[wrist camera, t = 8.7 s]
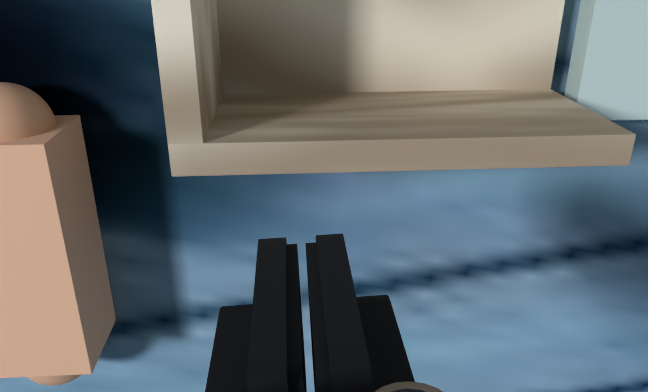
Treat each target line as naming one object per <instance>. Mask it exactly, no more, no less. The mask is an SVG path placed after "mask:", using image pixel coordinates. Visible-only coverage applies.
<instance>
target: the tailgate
mask: <svg viewBox="0 0 648 392" xmlns="http://www.w3.org/2000/svg"><path fill="white" fill-rule="evenodd" d="M564 96H565V97H567V98H568V99H570V100H572V101H574V102H576V103H578V104H580V105H582V106H584V107H585V108H587V109H589V110H591V111H593V112H595V113H597V114H599V115H601V116H602V117H604V118H606V119H608V120H648V0H581V2H580V8H579V14H578V20H577V25H576V31H575V37H574V43H573V49H572V54H571V60H570V66H569V72H568V77H567V83H566V89H565V95H564Z"/></svg>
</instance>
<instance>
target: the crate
mask: <svg viewBox="0 0 648 392" xmlns="http://www.w3.org/2000/svg"><path fill="white" fill-rule="evenodd" d="M151 4H152V13H153V21H154V30H155V38H156V47H157V55H158V64H159V72H160V81H161V89H162V98H163V106H164V115H165V124H166V132H167V141H168V149H169V158H170V166H171V175H172V176H211V175H252V174H293V173H333V172H374V171H415V170H456V169H497V168H538V167H579V166H620V165H629V163H630V159H631V155H632V150H633V146H634V142H635V138H636V134H635V133H633V132H631V131H629V130H627V129H625V128H623V127H621V126H619V125H618V124H616V123H614V122H612V121H610V120H608V119H606V118H604V117H602V116H601V115H599V114H597V113H595V112H593V111H591V110H589V109H587V108H585V107H584V106H582V105H580V104H578V103H576V102H574V101H572V100H570V99H568V98H567V97H565V96H563V95H561V94H559V93H557V92H555V91H553V90H551V84H552V78H553V72H554V66H555V59H556V53H557V47H558V41H559V35H560V29H561V22H562V16H563V10H564V4H565V0H151Z"/></svg>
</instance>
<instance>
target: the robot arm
mask: <svg viewBox="0 0 648 392" xmlns="http://www.w3.org/2000/svg"><path fill="white" fill-rule="evenodd" d="M306 258H307V274H308V291H309V307H310V324H311V340H312V356H313V371H314V386H315V392H442V391H441V390H439V389H437V388H435V387H432V386H430V385H427V384H424V383H417V382H415V381H414V378H413V374H412V371H411V368H410V364H409V361H408V358H407V355H406V351H405V348H404V345H403V341H402V338H401V335H400V331H399V328H398V325H397V322H396V318H395V315H394V312H393V308H392V305H391V302H390V299H389V296H388V295H377V296H363V297H356V294H355V289H354V285H353V280H352V275H351V270H350V265H349V261H348V256H347V251H346V246H345V241H344V237H343V234H331V235H316V243H306ZM205 392H307V391H306V372H305V355H304V340H303V325H302V310H301V296H300V281H299V266H298V251H297V244H288V245H287V243H286V238H271V239H259V240H258V251H257V262H256V274H255V285H254V297H253V304H251V305H237V306H223V307H221V308H220V312H219V317H218V322H217V328H216V333H215V339H214V345H213V350H212V356H211V362H210V367H209V373H208V378H207V384H206V390H205Z"/></svg>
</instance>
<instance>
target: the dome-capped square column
mask: <svg viewBox="0 0 648 392" xmlns="http://www.w3.org/2000/svg"><path fill="white" fill-rule="evenodd" d="M115 321H116V316H115V311H114V305H113V299H112V294H111V288H110V283H109V277H108V271H107V266H106V260H105V254H104V249H103V243H102V238H101V232H100V226H99V221H98V215H97V209H96V204H95V198H94V193H93V187H92V181H91V176H90V170H89V165H88V159H87V153H86V148H85V142H84V136H83V131H82V125H81V120H80V115H54V114H53V112H52V110H51V108H50V107H49V105H48V104H47V103H46V102H45V101H44V99H43V98H41V97H40V96H39V95H38V94H37V93H35V92H34V91H32V90H30V89H28V88H26V87H24V86H21V85H18V84H14V83H7V82H0V378H12V377H27V378H29V379H30V380H32V381H34V382H36V383H39V384H43V385H60V384H64V383H67V382H70V381H72V380H74V379H76V378H78V377H79V376H80V375H82V374H92V372H93V370H94V368H95V365H96V363H97V361H98V359H99V357H100V354H101V352H102V350H103V348H104V345H105V343H106V341H107V339H108V337H109V334H110V332H111V330H112V328H113V325H114V323H115Z"/></svg>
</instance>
